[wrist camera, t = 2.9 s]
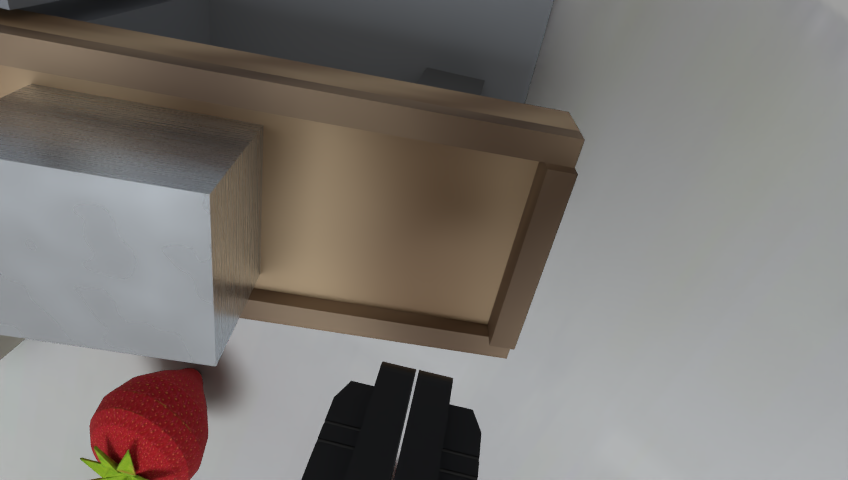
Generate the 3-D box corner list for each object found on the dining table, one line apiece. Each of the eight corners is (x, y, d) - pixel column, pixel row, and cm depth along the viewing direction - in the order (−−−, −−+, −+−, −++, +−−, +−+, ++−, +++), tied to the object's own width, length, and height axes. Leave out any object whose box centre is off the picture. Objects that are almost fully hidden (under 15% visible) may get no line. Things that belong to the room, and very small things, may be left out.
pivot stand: (561, -35, 21) (584, 8, 11) (477, 264, 28) (449, 438, 19) (-166, -192, 22) (-671, -267, 13) (-64, 131, 30) (-337, 231, 20)
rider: (263, 124, 15) (209, 194, 11) (260, 273, 17) (215, 366, 14) (31, 84, 14) (-98, 143, 11) (64, 243, 17) (-31, 330, 14)
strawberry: (221, 328, 34) (116, 467, 25) (254, 414, 37) (173, 562, 29) (137, 326, 35) (10, 459, 26) (177, 411, 39) (77, 551, 30)
